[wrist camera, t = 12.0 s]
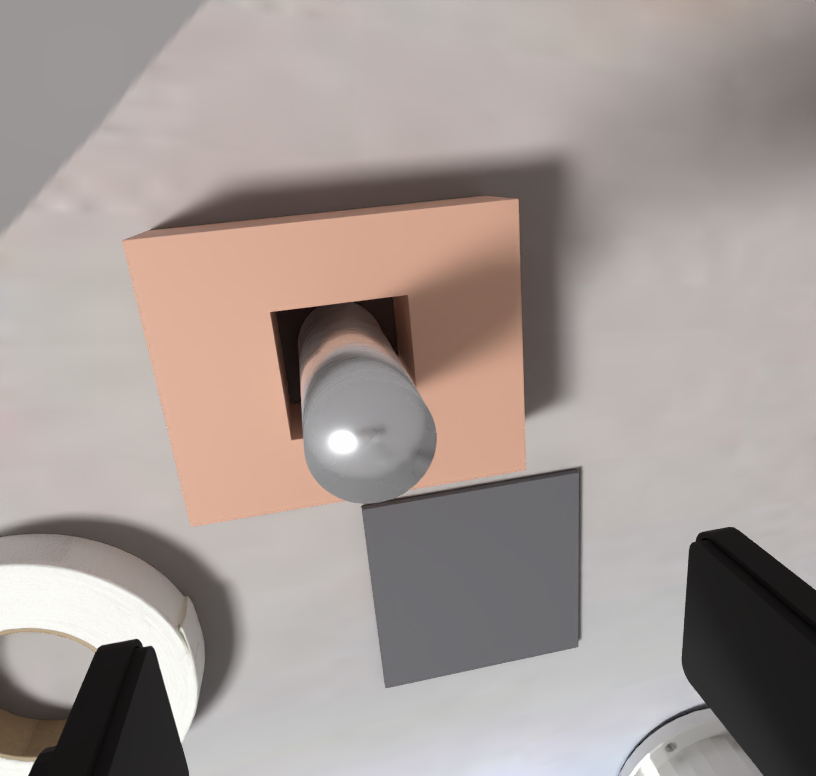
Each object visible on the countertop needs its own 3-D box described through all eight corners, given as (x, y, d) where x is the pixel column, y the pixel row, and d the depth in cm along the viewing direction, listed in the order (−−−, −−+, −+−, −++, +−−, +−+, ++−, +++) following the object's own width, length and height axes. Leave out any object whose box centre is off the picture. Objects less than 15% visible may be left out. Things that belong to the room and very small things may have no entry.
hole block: (484, 195, 29) (518, 198, 25) (495, 432, 33) (526, 470, 29) (148, 230, 27) (122, 240, 22) (204, 478, 31) (191, 527, 26)
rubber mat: (575, 469, 34) (579, 472, 34) (575, 642, 38) (578, 647, 38) (361, 506, 33) (362, 510, 32) (384, 683, 37) (385, 688, 36)
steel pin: (377, 295, 29) (431, 371, 18) (385, 375, 31) (441, 491, 19) (292, 306, 29) (293, 391, 18) (304, 387, 30) (314, 513, 19)
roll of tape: (53, 810, 36) (34, 861, 33) (-191, 656, 30) (-237, 702, 28) (265, 657, 35) (263, 697, 32) (54, 470, 30) (32, 499, 27)
